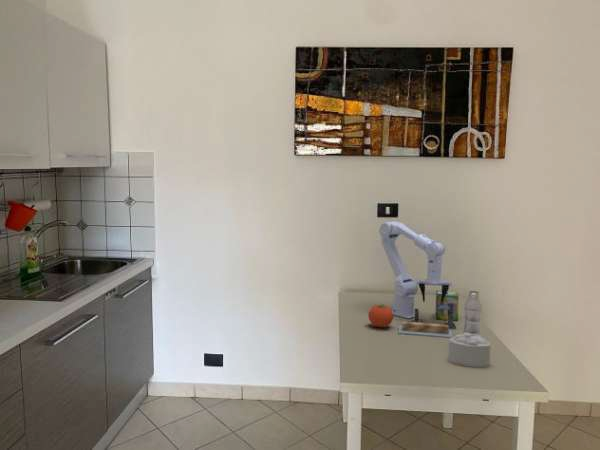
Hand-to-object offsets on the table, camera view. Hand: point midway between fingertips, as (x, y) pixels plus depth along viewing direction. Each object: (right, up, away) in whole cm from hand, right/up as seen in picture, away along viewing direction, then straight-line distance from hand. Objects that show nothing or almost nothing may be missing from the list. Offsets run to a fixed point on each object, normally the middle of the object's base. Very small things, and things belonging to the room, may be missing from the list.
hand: (432, 301), depth 207 cm
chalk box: (+9, -9, +9) cm, 15 cm away
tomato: (-24, -10, -6) cm, 27 cm away
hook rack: (-1, -10, -3) cm, 10 cm away
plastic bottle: (+8, -12, -25) cm, 29 cm away
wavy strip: (-7, -10, -13) cm, 17 cm away
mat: (-7, -11, -13) cm, 18 cm away
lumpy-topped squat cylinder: (0, -14, -42) cm, 44 cm away
